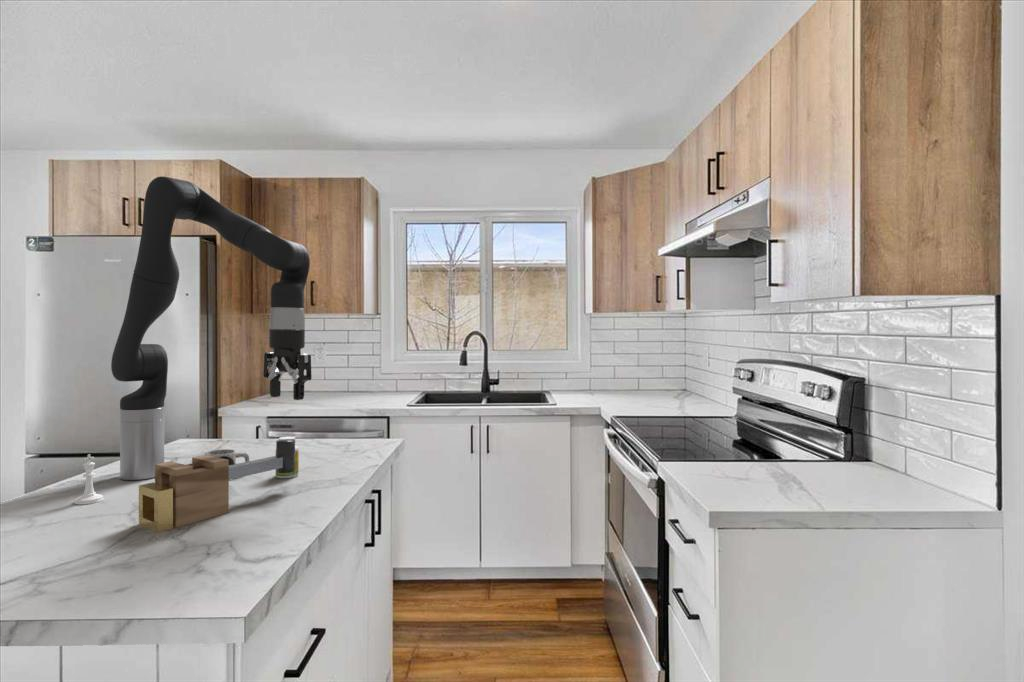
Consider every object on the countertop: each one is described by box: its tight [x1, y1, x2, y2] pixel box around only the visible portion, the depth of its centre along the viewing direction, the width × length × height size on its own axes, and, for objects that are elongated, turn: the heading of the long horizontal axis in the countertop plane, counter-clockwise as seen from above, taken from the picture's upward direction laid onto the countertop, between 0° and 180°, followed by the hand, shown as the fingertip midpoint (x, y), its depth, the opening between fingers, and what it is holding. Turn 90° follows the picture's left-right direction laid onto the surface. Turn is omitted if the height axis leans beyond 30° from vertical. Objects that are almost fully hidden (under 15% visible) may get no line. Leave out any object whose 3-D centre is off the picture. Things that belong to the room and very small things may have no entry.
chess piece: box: [74, 453, 105, 506], centre depth 116 cm, size 5×5×10 cm
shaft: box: [229, 439, 296, 481], centre depth 116 cm, size 4×25×7 cm, turn 148°
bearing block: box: [154, 454, 230, 528], centre depth 107 cm, size 8×10×11 cm
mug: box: [204, 448, 250, 481], centre depth 136 cm, size 10×7×7 cm
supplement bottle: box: [275, 436, 300, 479], centre depth 138 cm, size 5×5×10 cm
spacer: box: [138, 481, 174, 533], centre depth 102 cm, size 7×2×7 cm, turn 58°
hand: (286, 398), depth 125 cm, fingers open, 8 cm apart
